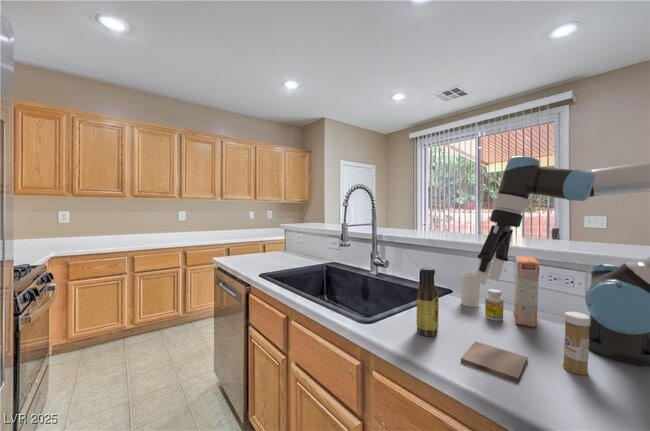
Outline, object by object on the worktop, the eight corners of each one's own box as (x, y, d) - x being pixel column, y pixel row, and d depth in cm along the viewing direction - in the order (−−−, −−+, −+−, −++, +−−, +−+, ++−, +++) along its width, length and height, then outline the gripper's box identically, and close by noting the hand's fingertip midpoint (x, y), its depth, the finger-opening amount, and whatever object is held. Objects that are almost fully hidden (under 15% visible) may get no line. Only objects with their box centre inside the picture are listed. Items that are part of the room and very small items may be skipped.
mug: (474, 309, 107) (475, 277, 106) (457, 304, 112) (457, 274, 112) (486, 303, 113) (486, 273, 113) (468, 298, 118) (469, 270, 118)
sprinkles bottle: (558, 365, 69) (559, 311, 69) (573, 363, 70) (575, 310, 70) (577, 376, 65) (579, 318, 64) (594, 374, 66) (596, 317, 65)
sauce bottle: (440, 338, 83) (440, 271, 83) (417, 336, 85) (418, 270, 84) (436, 329, 90) (436, 266, 89) (415, 327, 91) (416, 265, 90)
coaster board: (527, 360, 71) (527, 356, 71) (518, 382, 63) (518, 378, 63) (475, 344, 80) (475, 341, 80) (460, 362, 71) (460, 358, 71)
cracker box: (538, 328, 90) (540, 263, 89) (515, 324, 93) (516, 261, 92) (533, 314, 102) (535, 256, 101) (513, 311, 105) (514, 254, 104)
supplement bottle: (506, 319, 98) (506, 291, 97) (497, 322, 95) (498, 293, 94) (490, 313, 102) (490, 287, 102) (481, 316, 99) (482, 289, 99)
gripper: (504, 212, 93) (485, 273, 95) (480, 203, 75) (458, 279, 78) (531, 218, 88) (510, 282, 90) (513, 209, 70) (488, 290, 72)
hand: (486, 281), depth 84 cm, fingers open, 13 cm apart
